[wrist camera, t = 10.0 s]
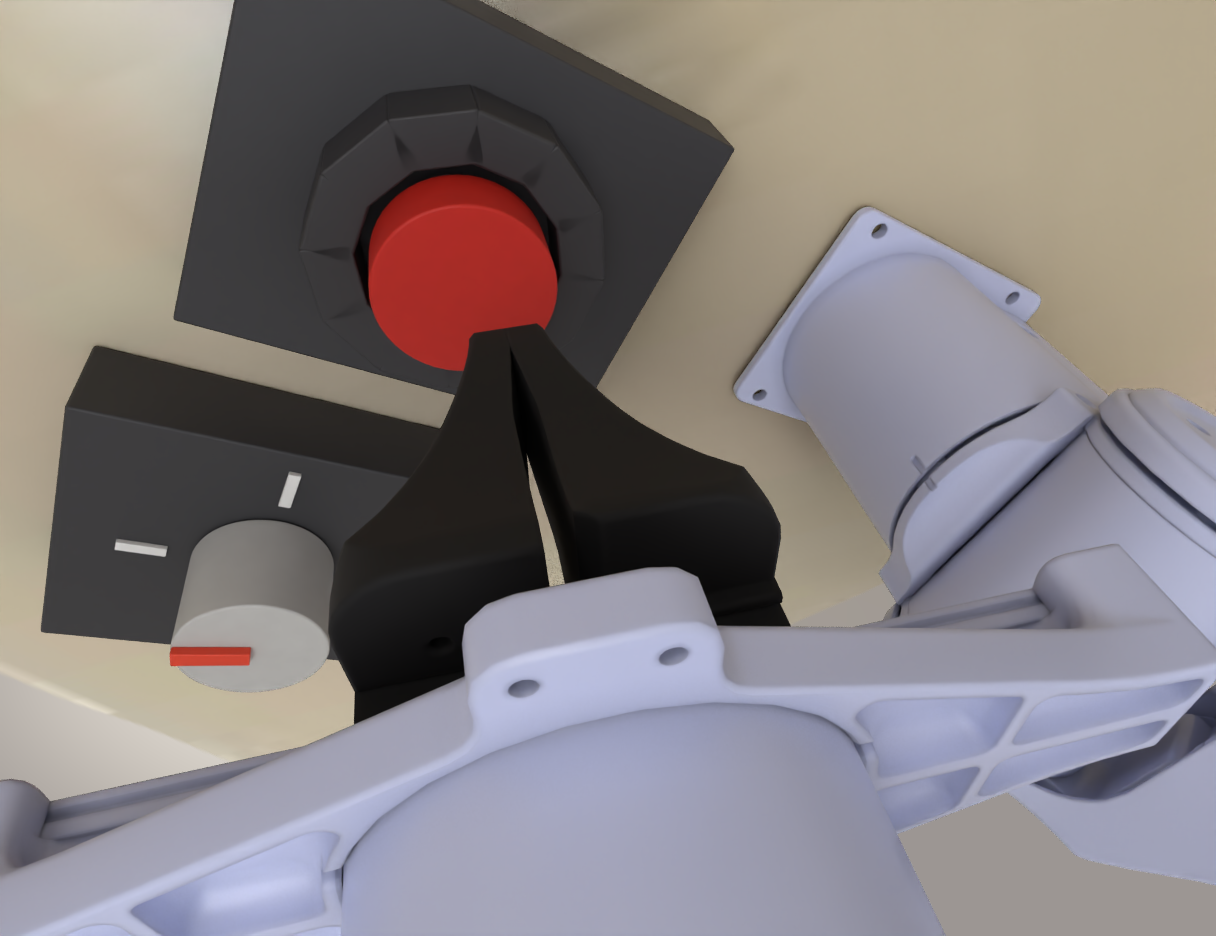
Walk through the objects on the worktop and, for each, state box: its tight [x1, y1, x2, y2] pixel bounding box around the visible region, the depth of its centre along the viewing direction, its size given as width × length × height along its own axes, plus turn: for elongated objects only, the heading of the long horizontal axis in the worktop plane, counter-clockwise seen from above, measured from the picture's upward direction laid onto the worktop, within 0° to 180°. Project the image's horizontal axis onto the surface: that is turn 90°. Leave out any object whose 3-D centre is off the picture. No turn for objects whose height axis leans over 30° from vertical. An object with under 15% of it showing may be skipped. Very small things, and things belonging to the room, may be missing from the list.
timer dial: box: [170, 520, 334, 692], centre depth 24 cm, size 4×4×4 cm
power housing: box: [174, 0, 734, 395], centre depth 21 cm, size 12×10×4 cm
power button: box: [368, 174, 558, 371], centre depth 19 cm, size 4×4×2 cm
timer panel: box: [41, 346, 439, 660], centre depth 27 cm, size 12×10×3 cm
